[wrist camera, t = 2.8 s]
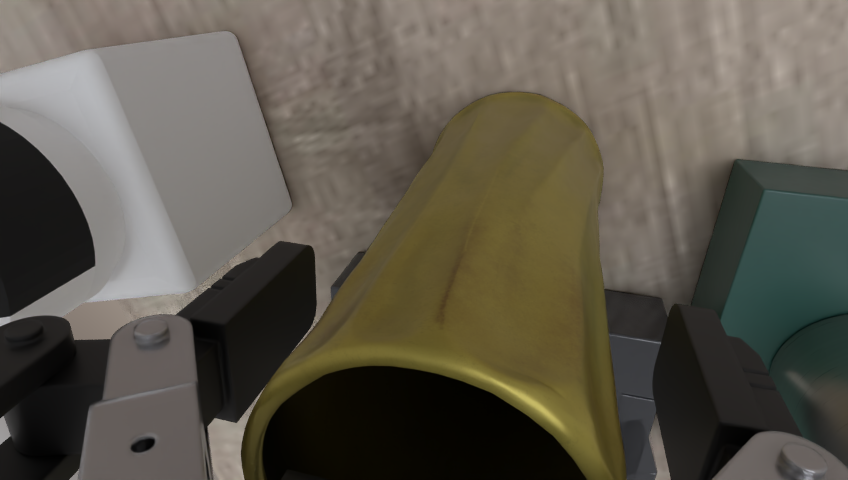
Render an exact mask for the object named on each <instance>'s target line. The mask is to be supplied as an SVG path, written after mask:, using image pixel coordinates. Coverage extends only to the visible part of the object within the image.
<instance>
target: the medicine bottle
mask: <svg viewBox="0 0 848 480" xmlns="http://www.w3.org/2000/svg"><path fill="white" fill-rule="evenodd" d="M291 208H292V202H291V199H290V196H289V193H288V190H287V187H286V184H285V181H284V178H283V175H282V172H281V169H280V166H279V163H278V160H277V157H276V154H275V151H274V148H273V145H272V141H271V138H270V135H269V132H268V129H267V126H266V123H265V120H264V117H263V114H262V111H261V108H260V105H259V102H258V99H257V96H256V93H255V90H254V87H253V84H252V81H251V78H250V75H249V72H248V69H247V66H246V63H245V60H244V57H243V54H242V51H241V48H240V45H239V42H238V39H237V38H236V36H235V35H234V34H233V33H231V32H229V31H219V32H212V33H205V34H197V35H190V36H183V37H176V38H168V39H161V40H154V41H146V42H139V43H132V44H124V45H117V46H110V47H102V48H95V49H88V50H83V51H79V52H76V53H72V54H69V55H65V56H62V57H58V58H54V59H51V60H47V61H44V62H40V63H37V64H33V65H30V66H26V67H22V68H19V69H15V70H12V71H8V72H5V73H1V74H0V326H2V325H5V324H7V323H10V322H12V321H16V320H19V319H23V318H27V317H33V316H42V315H51V316H58V317H63V316H65V315H66V314H68V313H69V312H71V311H72V310H74V309H75V308H77V307H78V306H80V305H81V304H83V303H87V302H98V301H108V300H118V299H129V298H139V297H149V296H159V295H170V294H180V293H187V292H190V291H192V290H194V289H195V288H197V287H198V286H199V285H200V284H202V283H203V282H204V281H205V280H207V279H208V278H209V277H210V276H211V275H213V274H214V273H215V272H216V271H218V270H219V269H220V268H221V267H222V266H224V265H225V264H226V263H227V262H229V261H230V260H231V259H232V258H233V257H235V256H236V255H237V254H238V253H240V252H241V251H242V250H243V249H244V248H246V247H247V246H248V245H249V244H251V243H252V242H253V241H254V240H255V239H257V238H258V237H259V236H260V235H262V234H263V233H264V232H265V231H267V230H268V229H269V228H270V227H271V226H273V225H274V224H275V223H276V222H278V221H279V220H280V219H281V218H282V217H284V216H285V215H286V214H287V213H289V211H290V210H291Z"/></svg>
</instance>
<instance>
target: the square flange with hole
mask: <svg viewBox="0 0 848 480" xmlns="http://www.w3.org/2000/svg"><path fill="white" fill-rule="evenodd" d="M364 255H365V253H357V254H356V256H355V257H354V258H353V259H352V261H351V262H350V263H349V265H348V266H347V267H346V268H345V270H344V271H343V272H342V273H341V275H340V276H339V277H338V279H337V280H336V281H335V282H334V284H333V285H332V286H331V301H332V299H333V298H334V296H335V295H336V293H337V292H338V290H339V289H340V287H341V286H342V284H343V283H344V282H345V280H346V279H347V278H348V276H349V275H350V274H351V272H352V271H353V270H354V268H355V267H356V266H357V265H358V264H359V262H360V261H361V259H362V258H363V256H364ZM604 292H605V301H606V310H607V319H608V329H609V339H610V347H611V355H612V363H613V371H614V378H615V387H616V397H617V406H618V414H619V421H620V428H621V435H622V441H623V447H624V453H625V463H626V479H627V480H655V478H656V475H657V468H656V462H655V457H654V451H653V446H652V440H651V435H650V431H651V427H652V424H653V421H654V417H655V414H656V406H655V402H654V397H653V390H652V381H653V371H654V366H655V362H656V358H657V355H658V351H659V348H660V344H661V341H662V337H663V334H664V330H665V326H666V323H667V319H668V317H667V314H666V310H665V307H664V304H663V300H662V299H660V298H654V297H648V296H641V295H635V294H628V293H622V292H615V291H609V290H604Z"/></svg>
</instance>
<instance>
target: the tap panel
mask: <svg viewBox="0 0 848 480" xmlns="http://www.w3.org/2000/svg"><path fill="white" fill-rule="evenodd" d="M691 306H695V307H701V308H708V309H713V310H715V311H716V313H717V315H718V317H719V319H720V321H721V324H722V326H723V328H724V330H725V332H726V334H727V336H732V337H738V338H741V339H742V340H743V341H744V342H745V343H747V344H748V345H749V346H750V347H751V348H752V349H753V350H754V351H756V352H757V353H758V354H759V355H760V357H761V359H762V361H763V363H764V364H765V366H766V368H767V370H768V372H769V374H770V368H771V365H772V362H773V360H774V358H775V356H776V354H777V352H778V351H779V350H780V348H781V347H782V346H783V345H784V344H785V343H786V342H787V341H788V340H789V339H790V338H791V337H792V336H793V335H795V334H796V333H798V332H799V331H801V330H802V329H804V328H806V327H808V326H810V325H812V324H814V323H817V322H819V321H822V320H825V319H828V318H832V317H836V316H841V315H847V314H848V171H846V170H836V169H827V168H817V167H807V166H798V165H788V164H778V163H769V162H759V161H749V160H740V159H737V160H735V162H734V165H733V169H732V172H731V175H730V179H729V182H728V185H727V188H726V192H725V195H724V198H723V202H722V205H721V208H720V212H719V215H718V218H717V221H716V225H715V228H714V231H713V235H712V238H711V241H710V245H709V248H708V251H707V254H706V258H705V261H704V264H703V268H702V271H701V274H700V278H699V281H698V284H697V288H696V291H695V294H694V297H693V301H692V304H691Z"/></svg>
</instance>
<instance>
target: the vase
mask: <svg viewBox="0 0 848 480" xmlns="http://www.w3.org/2000/svg"><path fill="white" fill-rule="evenodd" d="M603 169H604V168H603V162H602V158H601V154H600V151H599V148H598V145H597V143H596V141H595V138H594V136H593V135H592V133H591V131H590V129H589V128H588V127H587V125H586V124H585V123H584V122H583V121H582V120H581V119H580V118H579V117H578V116H577V115H576V114H575V113H573V112H572V111H571V110H569V109H568V108H566V107H565V106H563V105H561V104H559V103H557V102H555V101H553V100H551V99H549V98H547V97H544V96H541V95H538V94H533V93H524V92H507V93H498V94H493V95H489V96H487V97H484V98H481V99H479V100H477V101H475V102H473V103H472V104H470V105H469V106H467V107H466V108H464V109H463V110H461V111H460V112H459V113H458V114H457V115H455V116H454V117H453V118H452V119H451V121H450V122H449V123H448V124H447V125H446V127H445V128H444V130H443V131H442V133H441V135H440V136H439V138H438V140H437V142H436V144H435V147H434V150H433V154H432V155H431V156H430V158H429V159H428V160H427V162H426V163H425V164H424V166H423V167H422V168H421V170H420V171H419V173H418V174H417V176H416V177H415V179H414V180H413V182H412V184H411V185H410V187H409V189H408V190H407V192H406V193H405V195H404V196H403V198H402V199H401V201H400V202H399V204H398V205H397V206H396V208H395V209H394V211H393V212H392V214H391V215H390V217H389V218H388V220H387V221H386V223H385V224H384V226H383V227H382V229H381V230H380V232H379V234H378V235H377V237H376V238H375V240H374V241H373V243H372V244H371V246H370V247H369V249H368V250H367V252H366V253H365V255H364V256H363V258H362V259H361V261H360V262H359V264H358V265H357V266H356V267H355V268H354V270H353V271H352V272H351V274H350V275H349V276H348V278H347V279H346V280H345V282H344V283H343V284H342V286H341V287H340V289H339V290H338V292H337V293H336V295H335V296H334V298H333V299H332V301H331V302H330V304H329V306H328V307H327V309H326V311H325V312H324V314H323V316H322V317H321V319H320V320H319V321H318V323H317V324H316V325H315V327H314V328H313V329H312V331H311V332H310V333H309V334H308V335H307V337H306V338H305V339H304V340H303V341H302V342H301V343H300V344H299V345H298V347H297V348H296V349H295V350H294V351H293V352H292V353H291V354H290V355H289V356H288V357H287V358H286V359H285V360H284V362H283V363H282V364H281V366H280V367H279V368H278V370H277V371H276V372H275V374H274V375H273V376H272V378H271V379H270V380H269V382H268V383H267V385H266V387H265V388H264V390H263V392H262V394H261V395H260V397H259V399H258V401H257V402H256V404H255V406H254V408H253V410H252V412H251V414H250V416H249V419H248V422H247V424H246V427H245V431H244V436H243V440H242V448H241V460H242V469H243V474H244V479H245V480H281V479H282V477H283V475H284V474H285V472H286V470H287V469H289V470H293V471H297V472H301V473H305V474H310V475H314V476H318V477H322V478H326V479H330V480H627V479H626V463H625V453H624V447H623V441H622V435H621V428H620V421H619V414H618V406H617V397H616V387H615V378H614V371H613V363H612V355H611V347H610V339H609V329H608V319H607V310H606V301H605V292H604V283H603V275H602V269H601V263H600V253H599V225H598V206H599V203H600V197H601V191H602V184H603Z"/></svg>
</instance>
